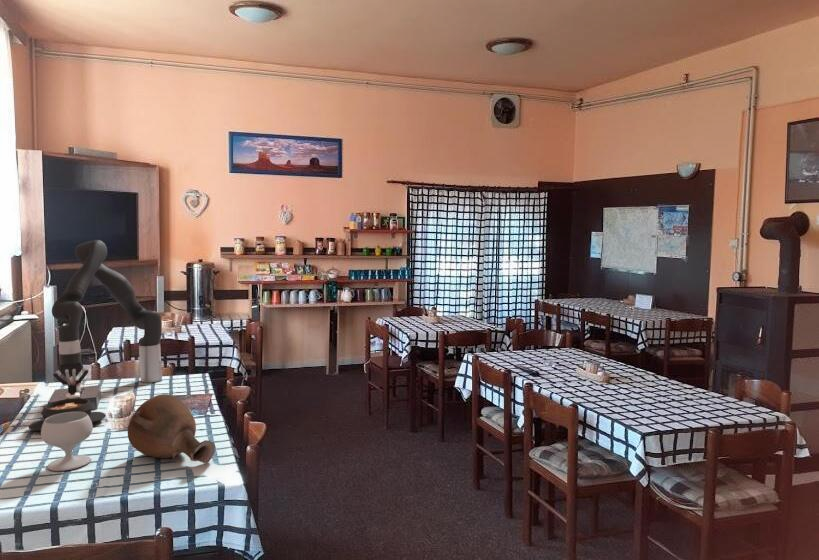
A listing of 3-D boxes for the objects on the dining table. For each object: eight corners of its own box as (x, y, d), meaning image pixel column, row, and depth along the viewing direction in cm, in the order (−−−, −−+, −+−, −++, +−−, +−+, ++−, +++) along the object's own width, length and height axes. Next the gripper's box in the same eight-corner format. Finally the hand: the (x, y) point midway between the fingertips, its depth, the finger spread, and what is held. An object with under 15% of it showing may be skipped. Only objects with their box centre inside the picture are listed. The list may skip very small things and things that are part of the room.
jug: (120, 455, 200) (179, 492, 184) (110, 402, 193) (171, 436, 177) (174, 426, 215) (233, 457, 200) (167, 376, 208) (228, 404, 193)
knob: (81, 406, 252) (80, 391, 252) (80, 409, 248) (79, 395, 247) (67, 407, 250) (66, 393, 250) (66, 411, 246) (65, 396, 245)
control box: (101, 396, 268) (100, 385, 267) (97, 409, 249) (96, 397, 249) (56, 401, 262) (55, 389, 261) (48, 414, 243) (47, 402, 243)
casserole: (29, 439, 216) (27, 416, 215) (29, 425, 231) (27, 403, 231) (108, 426, 228) (107, 404, 228) (103, 413, 244) (102, 392, 243)
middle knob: (82, 393, 258) (82, 379, 258) (81, 396, 254) (80, 382, 253) (69, 394, 257) (68, 380, 256) (67, 397, 252) (66, 383, 251)
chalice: (83, 452, 203) (80, 407, 201) (102, 462, 194) (99, 415, 193) (35, 465, 192) (32, 418, 191) (54, 477, 183) (51, 427, 182)
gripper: (89, 348, 253) (92, 390, 254) (52, 351, 248) (55, 393, 249) (87, 351, 246) (90, 394, 247) (49, 354, 241) (52, 398, 243)
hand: (72, 394), depth 248 cm, fingers closed
